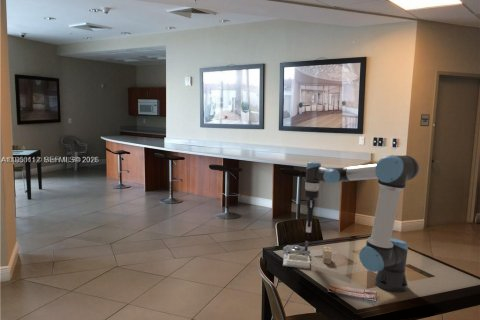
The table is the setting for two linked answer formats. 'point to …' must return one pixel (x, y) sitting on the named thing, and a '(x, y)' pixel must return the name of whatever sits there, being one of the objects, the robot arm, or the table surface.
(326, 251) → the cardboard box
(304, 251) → the sprocket
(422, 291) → the table surface
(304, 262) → the base plate
